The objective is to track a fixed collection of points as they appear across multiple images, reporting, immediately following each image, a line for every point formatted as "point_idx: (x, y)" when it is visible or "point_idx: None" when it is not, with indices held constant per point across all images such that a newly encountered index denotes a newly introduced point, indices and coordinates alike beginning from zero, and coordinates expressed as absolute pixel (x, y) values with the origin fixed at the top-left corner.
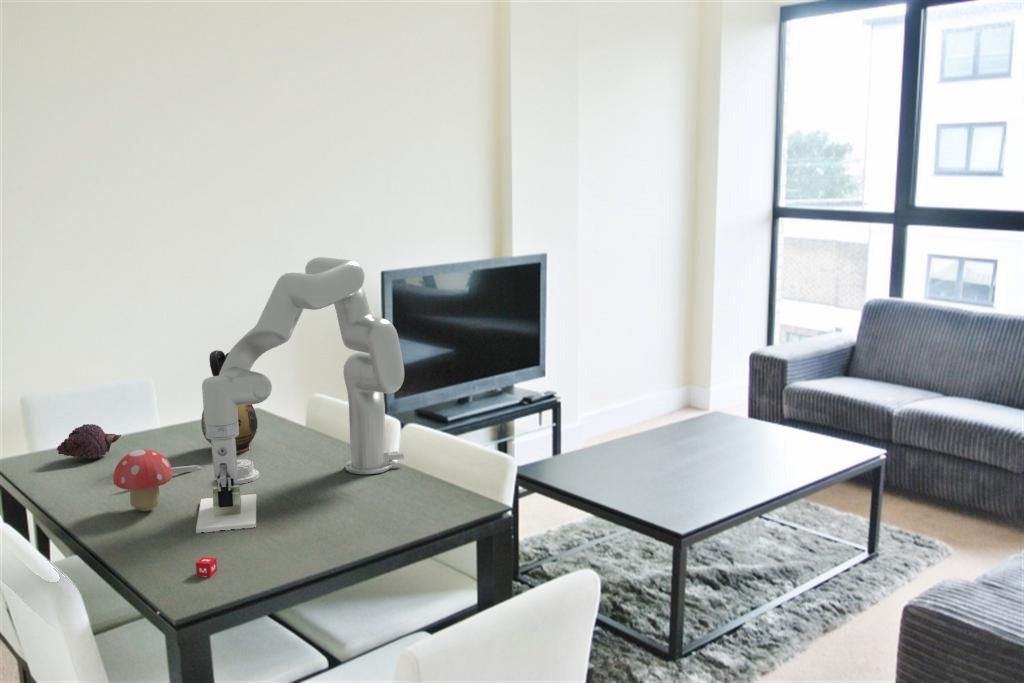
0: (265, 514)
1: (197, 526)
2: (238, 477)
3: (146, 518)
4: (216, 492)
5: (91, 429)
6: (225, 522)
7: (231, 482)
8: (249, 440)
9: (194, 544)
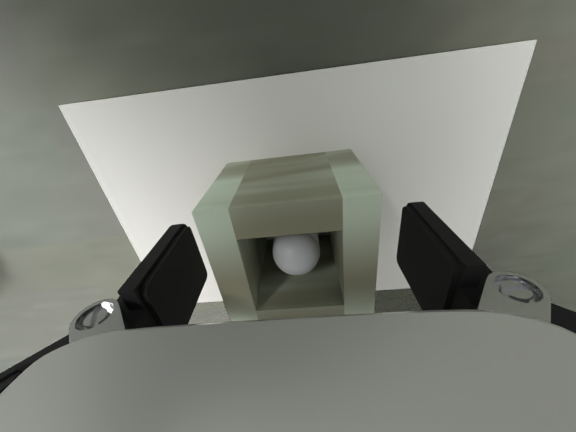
0: (326, 7)
1: None
2: None
3: None
4: (320, 313)
5: None
6: (440, 200)
7: (166, 269)
8: None
9: (555, 265)
